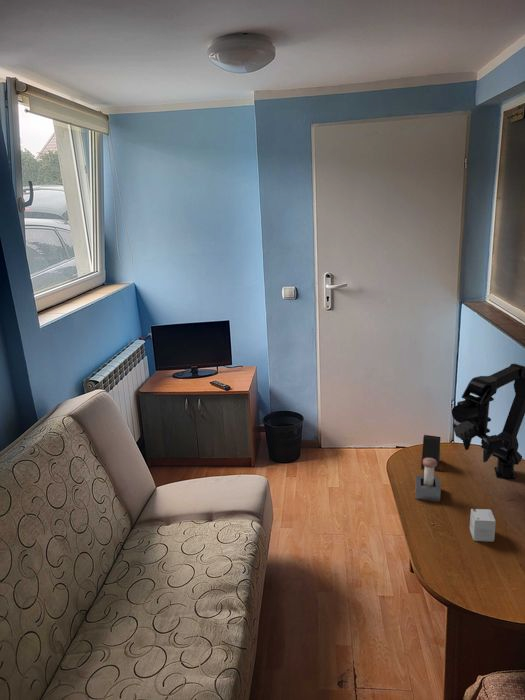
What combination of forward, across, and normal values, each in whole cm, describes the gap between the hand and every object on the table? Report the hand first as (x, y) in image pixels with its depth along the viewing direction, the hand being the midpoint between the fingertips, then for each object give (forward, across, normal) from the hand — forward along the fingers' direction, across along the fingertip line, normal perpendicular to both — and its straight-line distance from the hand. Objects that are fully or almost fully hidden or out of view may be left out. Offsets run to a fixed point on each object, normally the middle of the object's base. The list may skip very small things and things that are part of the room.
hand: (475, 455), depth 179 cm
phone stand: (+13, -20, -4) cm, 24 cm away
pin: (+13, -3, -16) cm, 21 cm away
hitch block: (+13, -3, -16) cm, 21 cm away
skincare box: (+13, +22, -14) cm, 29 cm away
